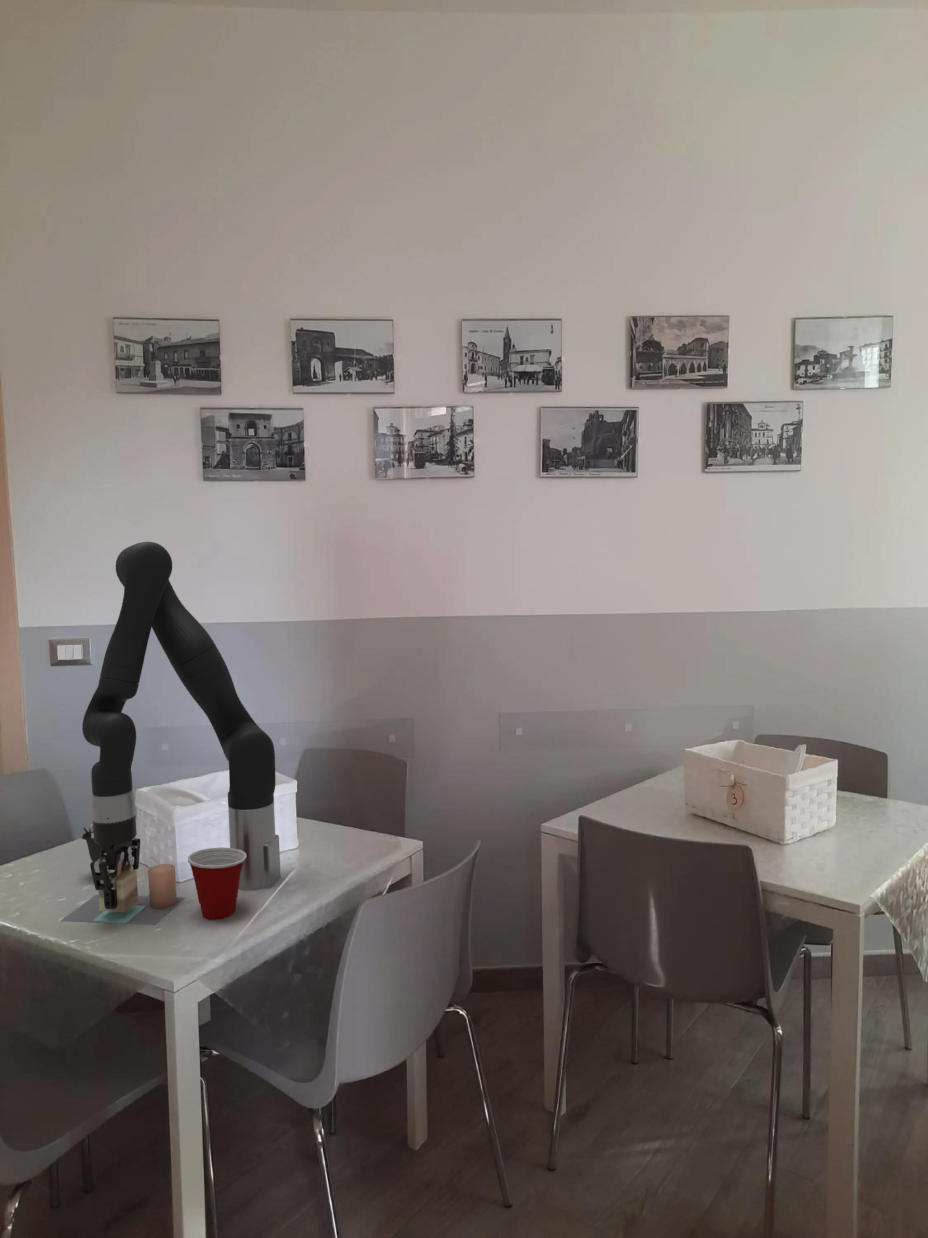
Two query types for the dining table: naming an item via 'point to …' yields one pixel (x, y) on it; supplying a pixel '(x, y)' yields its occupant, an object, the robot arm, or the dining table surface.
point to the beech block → (122, 891)
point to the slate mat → (147, 916)
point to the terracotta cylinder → (162, 886)
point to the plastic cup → (217, 880)
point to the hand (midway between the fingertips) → (119, 901)
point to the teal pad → (119, 915)
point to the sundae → (91, 844)
